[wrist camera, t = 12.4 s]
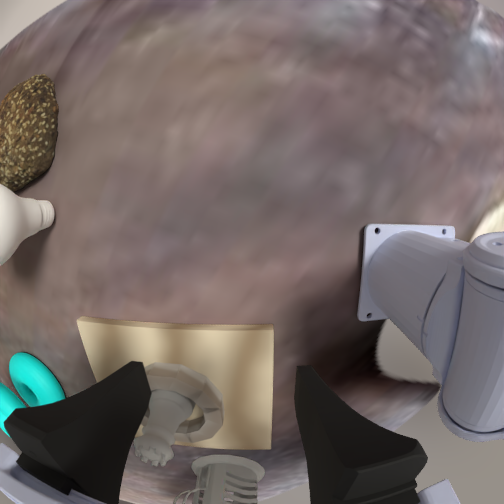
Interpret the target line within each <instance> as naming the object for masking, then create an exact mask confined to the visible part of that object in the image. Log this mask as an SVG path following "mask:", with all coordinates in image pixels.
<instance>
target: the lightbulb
mask: <svg viewBox="0 0 504 504" xmlns="http://www.w3.org/2000/svg"><path fill="white" fill-rule="evenodd" d="M54 215H55V214H54V208H53V206H52V204H51V203H50V202H49V201H47V200H35V199H32V198H21V197H19V196H17V195H16V194H15V193H13V192H12V191H11V190H9V189H8V188H7V187H5V186H4V185H2V184H0V265H2V264H3V263H5V262H6V261H7V260H8V259H9V258H10V257H11V256H12V255H13V253H14V252H15V251H16V249H17V248H18V246H19V245H20V243H21V242H22V241H23V240H24V239H26V238H27V237H29V236H31V235H34V234H36V233H37V232H38V231H39V230H42V229H45V228H48V227H50V226H51V225H52V223H53V220H54Z"/></svg>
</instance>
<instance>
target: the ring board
mask: <svg viewBox="0 0 504 504" xmlns="http://www.w3.org/2000/svg"><path fill="white" fill-rule="evenodd" d="M77 324H78V328H79V331H80V335H81V338H82V341H83V344H84V348H85V351H86V354H87V357H88V360H89V362H90V365H91V368H92V371H93V373H94V376H95V379H96V381H97V383H98V382H100V381H101V380H103V379H105V378H106V377H108V376H109V375H111V374H112V373H114V372H115V371H117V370H118V369H120V368H121V367H123V366H124V365H126V364H127V363H129V362H131V361H137V362H143V365H144V368H145V372H146V375H147V379H148V382H149V386H150V389H151V391H152V390H155V389H160V390H169V391H175V392H177V393H179V394H181V395H184V396H186V397H188V398H190V399H192V400H193V401H194V402H195V403H196V404H195V407H194V409H193V412H192V414H191V416H190V417H189V418H187V419H186V420H185V421H184V422H182V423H181V424H180V425H179V427H178V429H177V430H176V432H175V435H174V438H175V443H174V444H176V445H184V446H193V447H203V448H216V449H241V450H261V449H271V432H272V400H273V351H274V328H273V324H255V325H208V324H174V323H154V322H138V321H125V320H114V319H103V318H93V317H84V316H81V317H80V318H79V319H78V320H77ZM149 415H150V409H149V405H148V408H147V411H146V413H145V416H144V418H143V420H142V422H141V424H140V426H139V429H138V431H137V433H136V435H135V437H139V436H142V435H143V433H142V428H143V427H144V426H146V425H147V423H148V420H149Z"/></svg>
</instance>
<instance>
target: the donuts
mask: <svg viewBox="0 0 504 504" xmlns="http://www.w3.org/2000/svg"><path fill="white" fill-rule="evenodd" d="M9 372H10V376H11V379H12V382H13V384H14V386H15V388H16V390H17V391H18V393H19V394H20V396H21V397H22V398H23V399H24V401H25V402H26V403H27V404H28V405H29V406H30V407H35V406H41V405H46V404H50V403H54V402H57V401H60V400H63V399H66V398H65V395H64V392H63V390H62V388H61V386H60V384H59V382H58V381H57V379H56V378H55V376H54V375H53V374H52V373H51V371H50V370H49V369H48V368H47V367H46V366H45V365H44V364H43V363H42V362H41V361H39V360H38V359H37V358H35V357H34V356H32V355H30V354H27V353H23V352H20V353H16V354H15V355H13V356H12V358H11V360H10V363H9ZM16 408H27V407H26V406H25V405H24V404H23V402H22V401H21V400H20V399H19V398H18V397H17V396H16V395H15V394H14V393H13V392H12V391H11V390H10V389H9V388H8V387H6V386H5V385H4V384H2V383H1V382H0V428H1V429H2V430H3V431H4V432H5V433H6V434H7V435H8V436H9V434H8V433H7V431H6V429H5V427H4V421H5V420H6V419H7V418H8V417H9V415H10V414H11V413H12V412H13V411H14V410H15V409H16ZM9 437H10V436H9ZM10 438H11V437H10Z"/></svg>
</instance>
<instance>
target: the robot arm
mask: <svg viewBox="0 0 504 504" xmlns="http://www.w3.org/2000/svg"><path fill="white" fill-rule="evenodd" d="M376 228H378V232H377V233H376V234H375V229H376ZM442 230H444V232H443V234H442ZM368 313H371V314H370V315H369V316H368V317H367V314H368ZM357 317H358V319H359V320H360V321H372V320H381V319H390V320H391V321H392V322H393V323H394V324H395V325H396V326H397V327H398V328H399V329H400V330H401V331H402V332H403V333H404V334H405V335H406V336H407V337H408V339H409V340H410V341H411V342H412V343H413V344H414V345H415V346H416V347H417V348H418V349H419V350H420V351H421V353H422V354H423V355H424V356H425V357H426V358H427V359H428V360H429V361H430V362H431V364H432V365H433V376H434V377H435V378H436V379H437V380H438V382H439V383H440V384H441V385H442V387H441V390H440V393H439V396H438V403H437V404H438V412H439V416H440V418H441V420H442V422H443V423H444V425H445V426H446V427H447V428H448V429H449V430H450V431H451V432H452V433H454V434H455V435H457V436H458V437H460V438H463V439H465V440H469V441H474V442H475V441H476V442H484V441H490V440H499V439H504V232H493V233H487V234H483V235H480V236H478V237H477V238H476V239H475V240H474V241H473V242H472V243H468V242H465V241H462V240H459V239H455V229H454V227H453V226H444V225H411V224H368V225H366V227H365V229H364V247H363V262H362V275H361V286H360V296H359V304H358V313H357ZM151 394H152V392H151V389H150V386H149V382H148V379H147V375H146V372H145V368H144V365H143V362H137V361H131V362H129V363H127V364H126V365H124V366H123V367H121V368H120V369H118V370H117V371H115V372H114V373H112V374H111V375H109V376H108V377H106V378H105V379H103V380H101V381H100V382H98V383H96V384H95V385H93V386H91V387H89V388H88V389H86V390H84V391H82V392H80V393H78V394H76V395H73V396H71V397H68V398H66V399H63V400H60V401H57V402H54V403H50V404H46V405H41V406H35V407H27V408H16V409H15V410H14V411H13V412H12V413H11V414H10V415H9V417H8V418H7V419H6V420H5V421H4V427H5V429H6V431H7V433H8V434H9V436H10V437H11V438H12V440H13V441H14V442H15V444H16V445H17V446H18V448H19V449H20V450H21V451H22V454H21V455H20V456H19V455H18V454H17V453H16V452H15V451H13V450H12V449H11V448H9V447H8V446H6V445H5V444H4V443H1V444H0V490H1V491H2V492H3V493H4V494H5V495H6V496H7V497H9V498H10V499H11V500H12V501H13V502H15V503H16V504H118V503H119V494H120V487H121V482H122V476H123V472H124V468H125V464H126V460H127V456H128V453H129V450H130V447H131V444H132V442H133V439H134V437H135V435H136V433H137V431H138V429H139V426H140V424H141V422H142V420H143V418H144V416H145V413H146V411H147V408H148V405H149V402H150V398H151ZM294 400H295V410H296V417H297V421H298V425H299V430H300V434H301V438H302V442H303V446H304V450H305V454H306V460H307V468H308V477H309V488H310V501H311V504H460V502H459V500H458V498H457V496H456V494H455V492H454V490H453V488H452V486H451V484H450V482H449V480H448V479H444V480H442V481H440V482H438V483H436V484H434V485H432V486H430V487H427V488H425V489H423V490H422V491H420V492H419V493H416V490H415V488H416V487H417V483H416V481H415V478H416V477H417V475H418V474H419V473H420V472H421V470H422V469H423V468H424V466H425V464H426V463H427V459H428V457H427V455H426V453H425V451H424V450H423V448H422V446H421V445H420V443H419V442H418V441H417V440H416V439H413V438H410V437H406V436H403V435H400V434H397V433H394V432H392V431H390V430H387V429H385V428H383V427H381V426H379V425H377V424H375V423H373V422H371V421H370V420H368V419H366V418H365V417H363V416H361V415H360V414H359V413H357V412H356V411H354V410H353V409H352V408H351V407H349V406H348V405H347V404H346V403H345V402H344V401H342V400H341V399H340V398H339V397H338V396H337V395H336V394H335V393H334V392H333V391H332V390H331V389H330V388H329V387H328V386H327V384H326V383H325V382H324V381H323V380H322V379H321V377H320V376H319V375H318V374H317V372H316V371H315V370H314V369H313V367H312V366H311V365H307V366H297V372H296V385H295V396H294Z"/></svg>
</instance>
